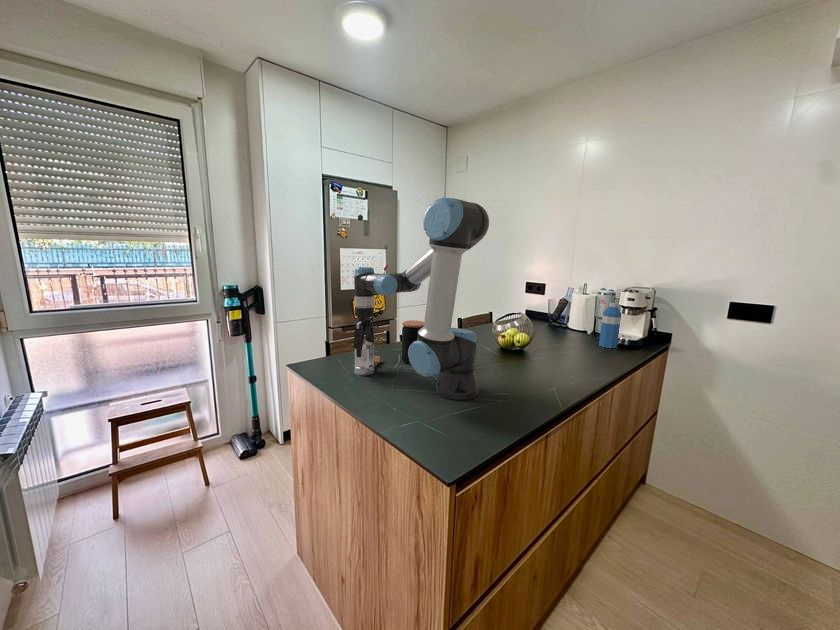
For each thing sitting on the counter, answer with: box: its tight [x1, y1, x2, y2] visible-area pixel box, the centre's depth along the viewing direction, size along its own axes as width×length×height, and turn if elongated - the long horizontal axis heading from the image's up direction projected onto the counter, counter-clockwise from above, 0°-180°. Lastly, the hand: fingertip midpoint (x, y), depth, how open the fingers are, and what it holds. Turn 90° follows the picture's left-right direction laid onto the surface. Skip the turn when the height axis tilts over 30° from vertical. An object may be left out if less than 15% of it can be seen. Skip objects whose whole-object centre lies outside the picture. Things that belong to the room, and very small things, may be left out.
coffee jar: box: [401, 320, 424, 365], centre depth 150 cm, size 11×11×18 cm
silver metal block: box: [354, 343, 375, 368], centre depth 135 cm, size 6×6×8 cm
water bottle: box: [598, 302, 622, 349], centre depth 182 cm, size 9×9×25 cm
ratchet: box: [354, 355, 381, 377], centre depth 140 cm, size 18×8×7 cm, turn 168°
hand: (364, 360), depth 135 cm, fingers open, 9 cm apart
